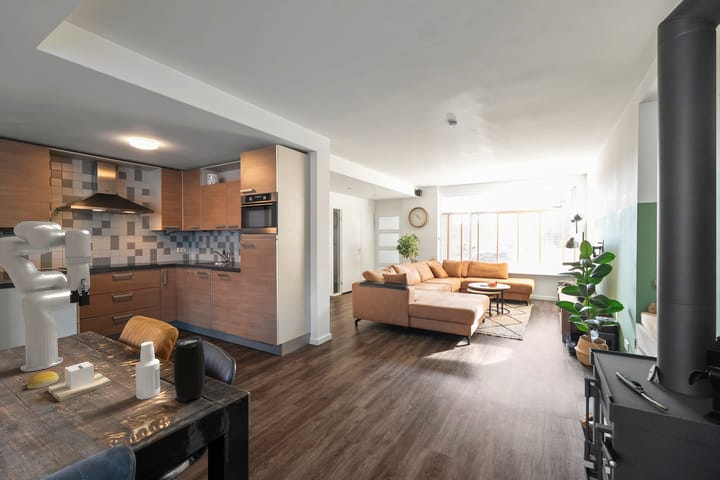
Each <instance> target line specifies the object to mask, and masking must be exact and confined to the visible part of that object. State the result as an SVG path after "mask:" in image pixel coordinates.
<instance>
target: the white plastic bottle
mask: <svg viewBox="0 0 720 480" xmlns="http://www.w3.org/2000/svg"><path fill="white" fill-rule="evenodd" d="M140 346H141V347H140V358H139V359H140V361H138V362H137V363H136V364H135V367H134V368H135V394H136V395H135V396H136V399H138V400H147V399H152V398H154V397H156V396H157V395H159V394H160V392H161V379H160V377H161V375H160V374H161V373H160V371H161V370H160V360H159V359H158V358H155V347H154V341H145V342H142V343H141V344H140Z"/></svg>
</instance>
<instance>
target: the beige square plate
mask: <svg viewBox="0 0 720 480" xmlns="http://www.w3.org/2000/svg"><path fill="white" fill-rule="evenodd" d="M111 385H112V380H111V379H109V378H107V377H106V376H105V375H103V374H101V373H100V372H98V371H94V382H93V383H90V384H87V385H84V386H81V387H78V388H75V389H72V390H71V389H70V388H68V387H67V386H66V385H65V381H62V382H58V383H54V384H51V385H48V386H47V391H48V393H49V394H51V395H52V396H53V397H54V398H55V399H56V400H57V401H58V402H60V403H61V402H64V401H68V400H70V399H73V398H76V397H79V396H82V395H84V394H88V393H91V392H93V391H94V392H95V391H96V390H100V389H102V388H105V387H108V386H111Z"/></svg>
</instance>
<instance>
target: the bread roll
mask: <svg viewBox="0 0 720 480" xmlns="http://www.w3.org/2000/svg"><path fill="white" fill-rule="evenodd" d="M59 378H60V376H59V374H58V372H55V371H51V370H49V371H46V370H45V371H42V372H38V373H36V374H34V375H33V376H32V377H31V378H30V379H29V380H28V382H27V384H26V387H27V389H29V390H30V389H31V390H32V389H33V390H34V389H41V388H46V387H48V386H51V385H54V384H56V383H57V382H58V381H59Z"/></svg>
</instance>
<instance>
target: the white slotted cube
mask: <svg viewBox="0 0 720 480" xmlns="http://www.w3.org/2000/svg"><path fill="white" fill-rule="evenodd" d="M94 372H95V366H94V364H93V363H91V362H89V361H84V362H80V363H77V364H73V365H70V366H67V367H64V382H65V385H66V386H67V387H68V388H70V389H71V390H72V389H75V388H78V387H81V386H84V385H87V384H90V383H93V382H94Z"/></svg>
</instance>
